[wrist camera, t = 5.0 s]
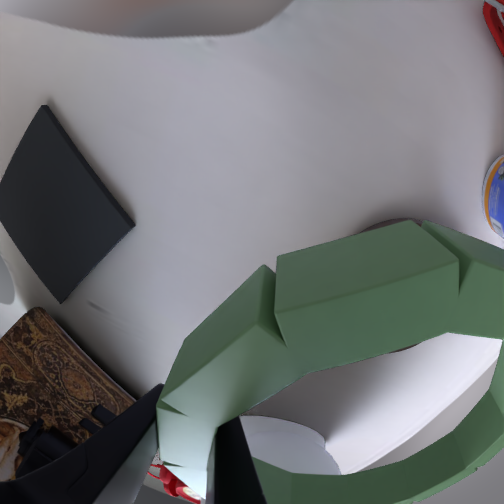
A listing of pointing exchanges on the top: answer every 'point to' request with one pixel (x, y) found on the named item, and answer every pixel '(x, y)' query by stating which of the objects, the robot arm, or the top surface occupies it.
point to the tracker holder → (495, 21)
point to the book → (48, 385)
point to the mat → (58, 207)
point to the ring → (340, 353)
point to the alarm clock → (176, 485)
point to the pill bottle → (494, 196)
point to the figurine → (287, 446)
